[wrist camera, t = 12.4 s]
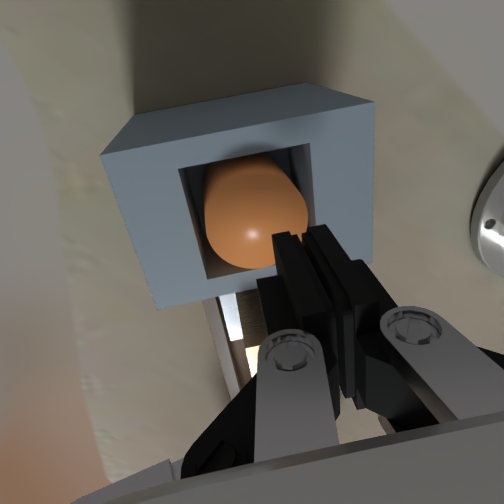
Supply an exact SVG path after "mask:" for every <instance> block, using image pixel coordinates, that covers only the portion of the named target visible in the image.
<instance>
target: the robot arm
mask: <svg viewBox="0 0 504 504" xmlns="http://www.w3.org/2000/svg"><path fill="white" fill-rule="evenodd" d="M301 237H302V243H301V241H300V239H299V237H298V235H297V234H294V235H291V233H290V232H289V231H286V232H280V233H275V234H272V244H273V250H274V257H275V264H276V271H277V275H275V276H270V277H264V278H259V279H256V283H257V289H258V294H259V299H260V305H261V310H262V315H263V320H264V325H265V330H266V334H267V338H266V339H264V340H263V342H262V343H261V345H260V346H259V350H258V354H257V372H256V374H255V375H254V376H253V377H252V378H251V379H250V380H249V381H248V383H247V384H246V385H245V386H244V387H243V388H242V389H241V390H240V392H239V393H238V394H237V395H236V396H235V397H234V398H233V400H232V401H231V402H230V403H229V404H228V405H227V406H226V407H225V409H224V410H223V411H222V412H221V413H220V414H219V415H218V416H217V418H216V419H215V420H214V421H213V422H212V423H211V424H210V425H209V427H208V428H207V429H206V430H205V431H204V432H203V433H202V434H201V436H200V437H199V438H198V439H197V440H196V441H195V442H194V443H193V445H192V446H191V447H190V449H189V450H188V452H187V453H186V455H185V457H184V458H182V459H180V460H178V461H176V462H173V463H171V462H170V460H169V459H167V460H165V461H163V462H161V463H158V464H156V465H154V466H151V467H149V468H147V469H145V470H142V471H140V472H138V473H136V474H133V475H131V476H129V477H127V478H124V479H122V480H120V481H117V482H115V483H113V484H111V485H109V486H106V487H104V488H102V489H99V490H97V491H95V492H93V493H90V494H88V495H86V496H83V497H81V498H79V499H77V500H76V501H74V502H73V503H71V504H504V355H502V354H499V353H496V352H493V351H490V350H487V349H483V348H480V347H477V346H475V345H474V344H473V343H472V342H470V341H469V340H468V339H467V338H466V337H465V336H463V335H462V334H461V333H460V332H459V331H457V330H456V329H455V328H454V327H453V326H452V325H450V324H449V323H448V322H447V321H446V320H445V319H443V318H442V317H441V316H439V315H438V314H436V313H435V312H433V311H430V310H428V309H425V308H421V307H416V306H402V307H398V306H397V305H396V303H395V302H394V301H393V299H392V298H391V297H390V295H389V294H388V293H387V291H386V290H385V289H384V287H383V286H382V285H381V283H380V282H379V281H378V279H377V278H376V277H375V275H374V274H373V273H372V272H371V270H370V269H369V268H368V266H367V265H366V264H365V262H364V261H363V260H362V259H357V260H351V259H350V258H349V256H348V255H347V253H346V252H345V251H344V249H343V248H342V246H341V245H340V243H339V242H338V241H337V239H336V238H335V236H334V235H333V233H332V232H331V231H330V229H329V228H328V226H327V225H326V224H322V225H317V226H312V227H307V232H305V233H302V234H301ZM471 242H472V247H473V250H474V252H475V254H476V256H477V258H478V259H479V260H480V261H481V262H482V263H483V264H484V265H485V266H486V267H487V268H489V269H490V270H492V271H493V272H494V273H496V274H497V275H500V276H502V277H504V161H503V162H502V163H501V164H500V166H499V167H498V168H497V170H496V171H495V172H494V173H493V175H492V176H491V177H490V179H489V180H488V182H487V184H486V185H485V187H484V189H483V191H482V192H481V194H480V196H479V199H478V201H477V204H476V206H475V209H474V212H473V217H472V221H471ZM339 385H340V388H341V390H342V393H343V395H344V397H345V398H351V397H352V399H353V402H354V404H355V406H356V409H357V410H359V409H364V408H367V409H369V410H371V411H373V412H375V413H377V414H378V420H379V422H380V424H381V426H382V428H383V429H384V431H385V432H386V434H387V435H383V436H379V437H374V438H369V439H364V440H359V441H355V442H350V443H345V444H340V445H339V439H338V434H337V428H336V423H335V421H336V419H337V418H338V416H339V414H340V390H339Z"/></svg>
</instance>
